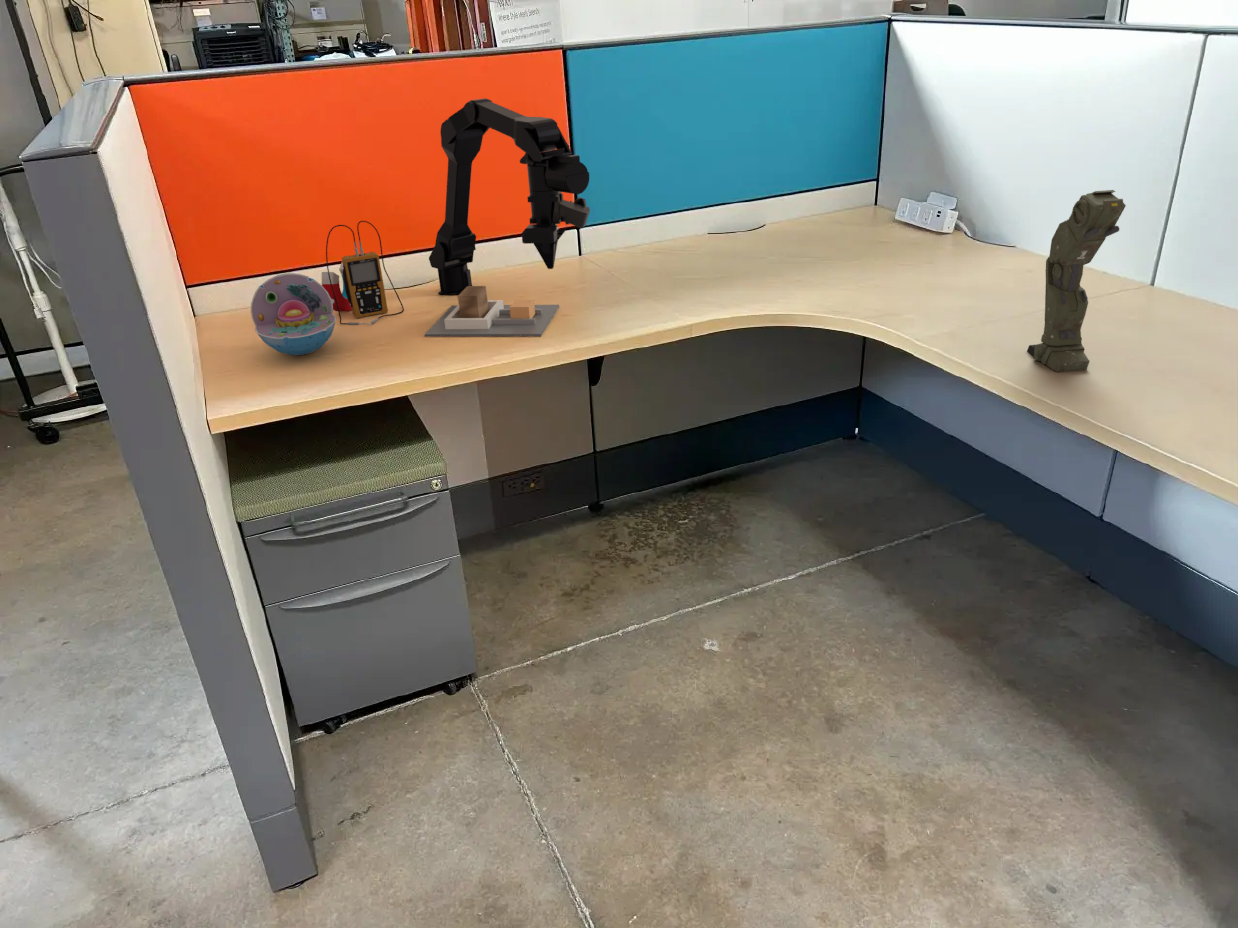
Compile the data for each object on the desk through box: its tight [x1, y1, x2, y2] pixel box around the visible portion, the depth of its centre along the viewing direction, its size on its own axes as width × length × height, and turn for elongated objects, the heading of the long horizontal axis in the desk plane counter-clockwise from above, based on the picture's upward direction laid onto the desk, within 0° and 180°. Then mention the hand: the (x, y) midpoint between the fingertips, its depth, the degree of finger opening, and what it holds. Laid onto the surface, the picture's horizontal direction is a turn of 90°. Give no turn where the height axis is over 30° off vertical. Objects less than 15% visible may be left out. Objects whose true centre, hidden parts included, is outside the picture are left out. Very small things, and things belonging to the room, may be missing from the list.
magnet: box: [321, 261, 352, 313], centre depth 196 cm, size 12×3×10 cm, turn 169°
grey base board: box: [424, 299, 560, 338], centre depth 186 cm, size 24×19×2 cm
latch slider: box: [510, 299, 536, 318], centre depth 184 cm, size 4×5×3 cm
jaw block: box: [457, 285, 489, 318], centre depth 185 cm, size 4×7×6 cm, turn 173°
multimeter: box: [325, 220, 405, 326], centre depth 187 cm, size 15×10×20 cm
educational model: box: [250, 272, 337, 356], centre depth 172 cm, size 16×19×15 cm
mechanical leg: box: [1026, 189, 1127, 373], centre depth 145 cm, size 14×7×30 cm, turn 5°
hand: (550, 268), depth 179 cm, fingers closed
